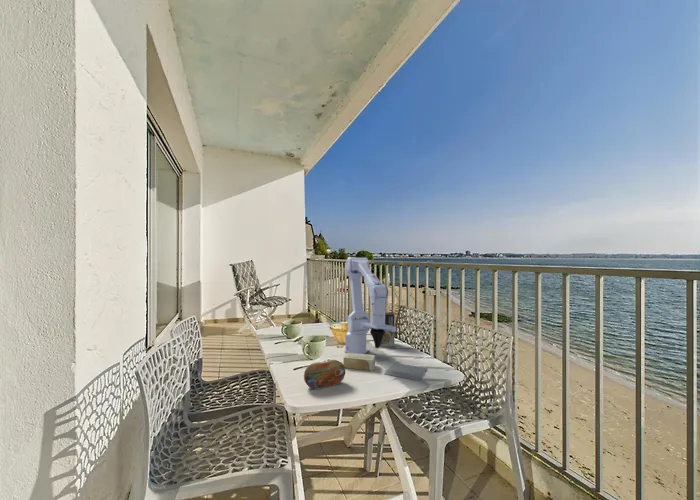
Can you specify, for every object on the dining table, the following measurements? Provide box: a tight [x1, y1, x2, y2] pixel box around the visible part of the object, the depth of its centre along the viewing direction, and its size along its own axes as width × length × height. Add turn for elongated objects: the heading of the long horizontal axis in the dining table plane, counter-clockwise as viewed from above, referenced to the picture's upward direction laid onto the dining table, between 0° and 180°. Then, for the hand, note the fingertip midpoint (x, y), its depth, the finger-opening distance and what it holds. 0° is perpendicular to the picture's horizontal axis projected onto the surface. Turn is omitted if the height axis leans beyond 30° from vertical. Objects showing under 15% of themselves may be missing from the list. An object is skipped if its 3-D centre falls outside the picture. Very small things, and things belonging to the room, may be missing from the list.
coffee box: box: [380, 311, 396, 347], centre depth 160 cm, size 9×6×16 cm
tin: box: [303, 359, 346, 390], centre depth 112 cm, size 15×3×8 cm, turn 117°
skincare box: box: [342, 352, 376, 372], centre depth 130 cm, size 6×4×12 cm
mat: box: [383, 362, 428, 382], centre depth 126 cm, size 14×13×1 cm
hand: (377, 347), depth 130 cm, fingers closed
